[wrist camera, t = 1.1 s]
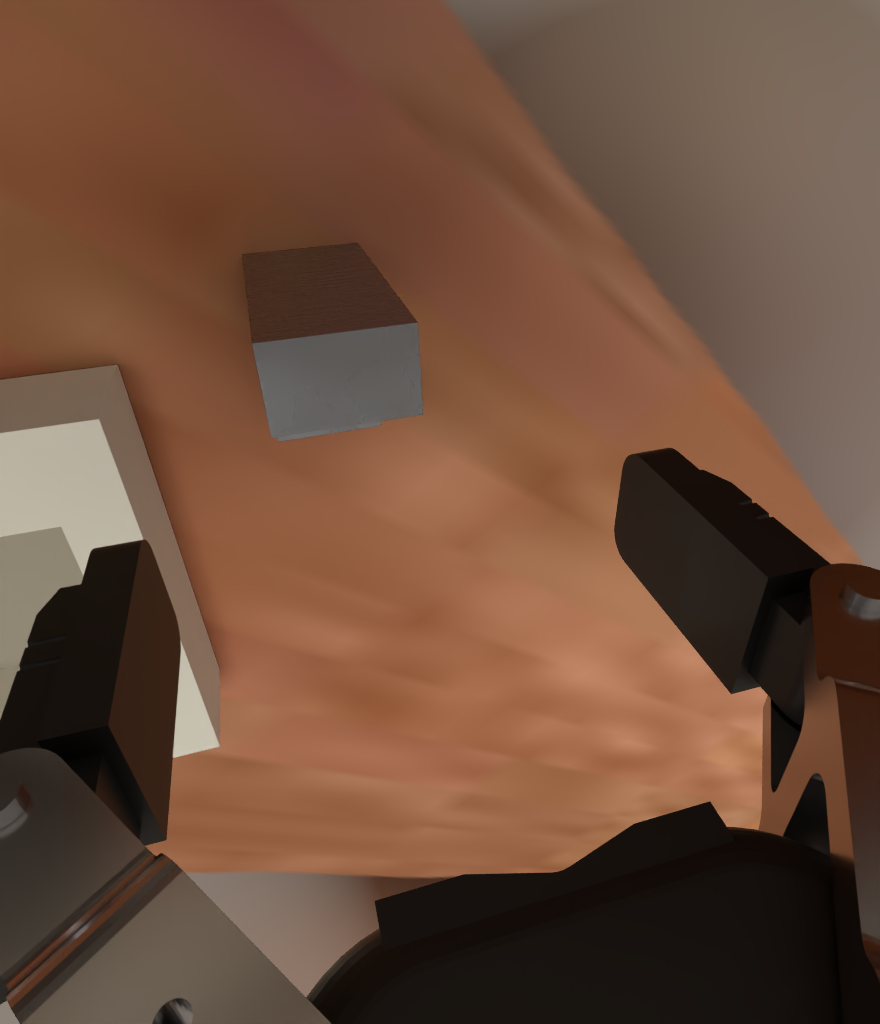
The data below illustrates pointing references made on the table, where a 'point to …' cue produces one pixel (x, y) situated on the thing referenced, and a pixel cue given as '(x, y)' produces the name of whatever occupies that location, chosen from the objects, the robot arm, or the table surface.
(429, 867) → the table surface
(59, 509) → the well block
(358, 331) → the grey rectangular block
